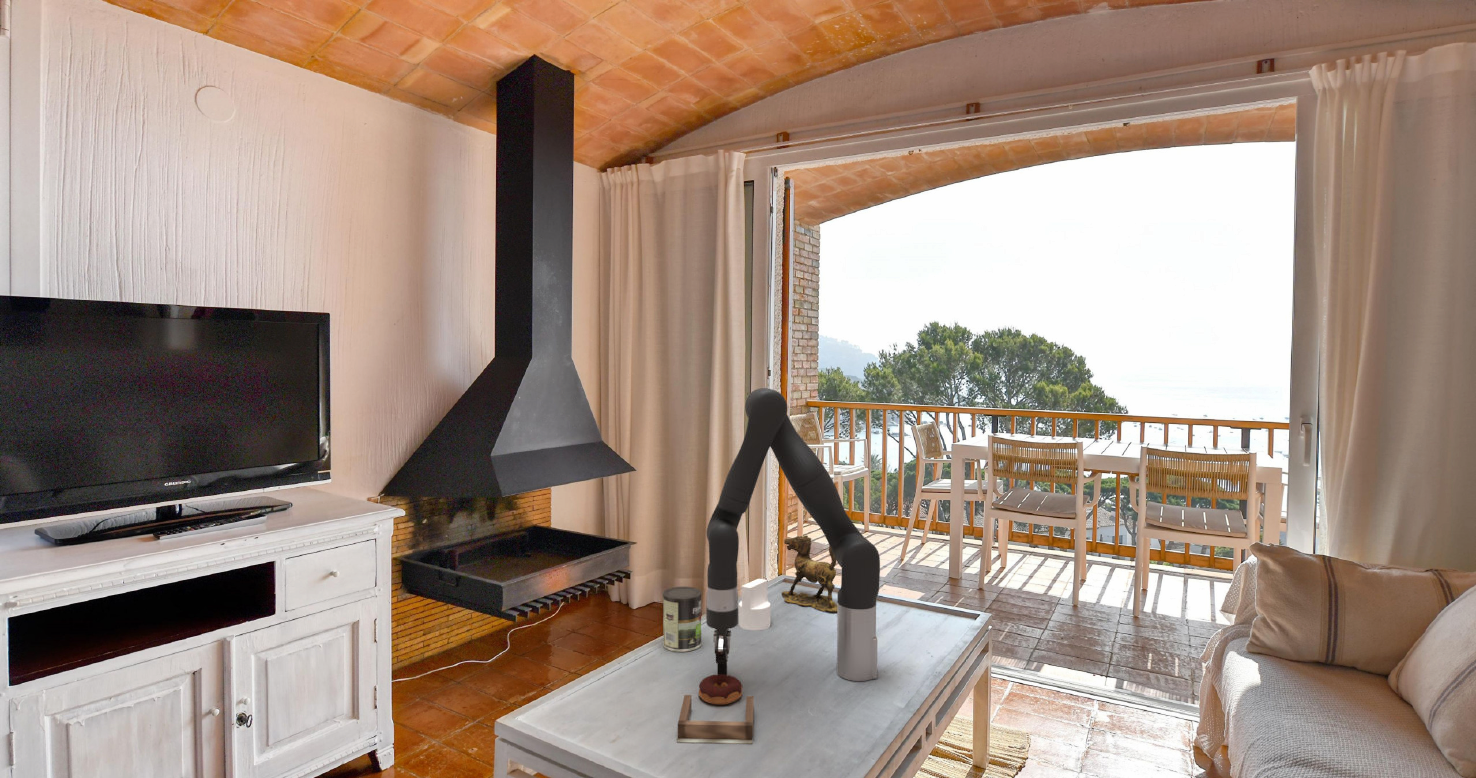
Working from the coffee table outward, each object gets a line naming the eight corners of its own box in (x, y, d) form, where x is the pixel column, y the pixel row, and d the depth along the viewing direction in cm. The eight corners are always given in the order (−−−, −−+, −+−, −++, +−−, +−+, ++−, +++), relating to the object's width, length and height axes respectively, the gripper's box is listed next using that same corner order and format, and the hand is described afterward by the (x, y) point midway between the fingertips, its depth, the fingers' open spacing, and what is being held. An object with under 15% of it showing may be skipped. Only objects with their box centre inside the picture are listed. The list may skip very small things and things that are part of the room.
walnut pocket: (753, 709, 158) (753, 696, 158) (752, 743, 144) (752, 729, 144) (684, 708, 159) (684, 694, 158) (676, 742, 145) (676, 727, 145)
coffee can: (705, 638, 198) (705, 587, 197) (696, 653, 188) (695, 599, 187) (669, 635, 200) (669, 584, 199) (657, 650, 190) (657, 597, 189)
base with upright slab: (750, 616, 214) (750, 576, 214) (776, 623, 209) (776, 581, 208) (732, 625, 207) (732, 584, 206) (758, 632, 202) (758, 590, 201)
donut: (700, 686, 169) (700, 669, 169) (742, 687, 169) (742, 670, 169) (696, 707, 159) (696, 689, 159) (741, 708, 159) (741, 690, 159)
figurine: (799, 588, 239) (799, 527, 239) (859, 608, 221) (859, 542, 220) (771, 597, 231) (771, 534, 230) (831, 618, 212) (831, 550, 211)
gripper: (736, 614, 164) (736, 690, 165) (739, 595, 177) (739, 665, 178) (703, 614, 165) (703, 689, 165) (708, 594, 178) (708, 664, 179)
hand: (722, 676), depth 172 cm, fingers closed
